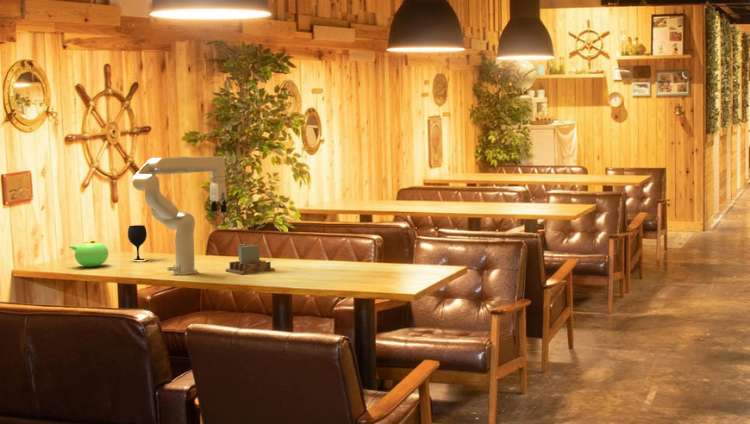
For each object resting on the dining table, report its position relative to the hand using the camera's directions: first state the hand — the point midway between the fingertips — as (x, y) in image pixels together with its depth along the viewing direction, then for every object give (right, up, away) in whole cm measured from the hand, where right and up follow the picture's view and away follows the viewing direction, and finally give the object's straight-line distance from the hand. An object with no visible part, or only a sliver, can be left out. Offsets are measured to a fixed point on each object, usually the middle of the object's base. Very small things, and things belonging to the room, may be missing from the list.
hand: (218, 211), depth 507 cm
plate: (+18, -30, -9) cm, 36 cm away
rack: (+18, -31, -9) cm, 37 cm away
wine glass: (-52, -28, +36) cm, 69 cm away
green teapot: (-72, -30, +16) cm, 80 cm away
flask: (+10, -28, +32) cm, 43 cm away
